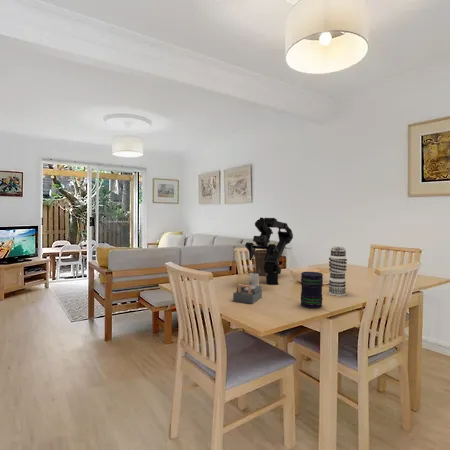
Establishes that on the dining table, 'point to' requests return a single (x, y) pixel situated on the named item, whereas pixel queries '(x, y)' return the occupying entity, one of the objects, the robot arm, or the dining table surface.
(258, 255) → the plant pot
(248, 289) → the lug
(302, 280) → the storage jar
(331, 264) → the decorative candle
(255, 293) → the grey walled tray
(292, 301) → the dining table surface
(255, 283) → the tapered wooden notched block
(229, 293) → the dining table surface
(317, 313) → the dining table surface
